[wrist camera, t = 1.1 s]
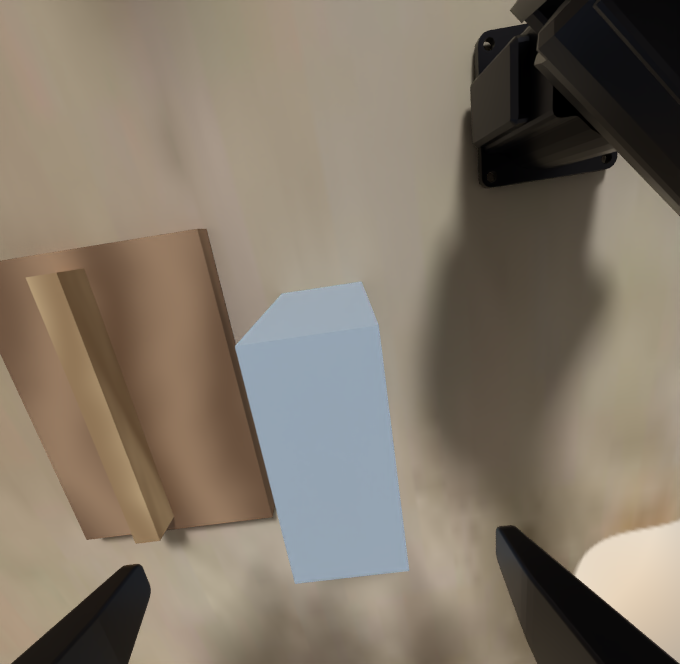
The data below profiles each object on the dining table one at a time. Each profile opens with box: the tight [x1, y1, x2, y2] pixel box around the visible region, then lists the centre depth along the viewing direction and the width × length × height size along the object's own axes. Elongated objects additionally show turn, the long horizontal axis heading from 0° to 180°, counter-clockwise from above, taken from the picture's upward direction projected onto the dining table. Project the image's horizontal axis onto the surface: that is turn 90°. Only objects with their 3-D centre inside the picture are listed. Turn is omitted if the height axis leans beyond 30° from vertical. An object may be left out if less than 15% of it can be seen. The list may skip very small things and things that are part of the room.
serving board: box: [0, 229, 275, 544], centre depth 20 cm, size 12×18×3 cm
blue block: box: [235, 282, 409, 584], centre depth 16 cm, size 4×10×9 cm, turn 9°
